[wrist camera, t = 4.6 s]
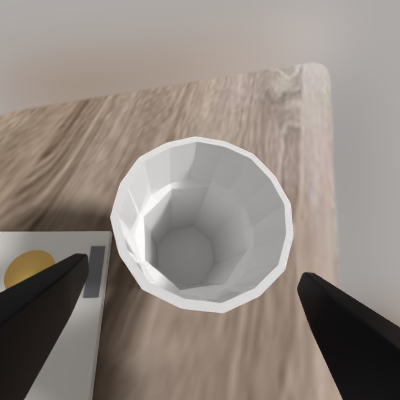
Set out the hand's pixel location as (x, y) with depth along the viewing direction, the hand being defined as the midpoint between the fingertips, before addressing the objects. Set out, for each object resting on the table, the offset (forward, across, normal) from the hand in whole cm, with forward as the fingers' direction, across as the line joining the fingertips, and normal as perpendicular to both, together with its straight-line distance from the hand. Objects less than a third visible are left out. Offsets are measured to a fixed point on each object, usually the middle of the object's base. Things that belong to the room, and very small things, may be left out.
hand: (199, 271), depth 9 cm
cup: (+8, 0, +5) cm, 9 cm away
